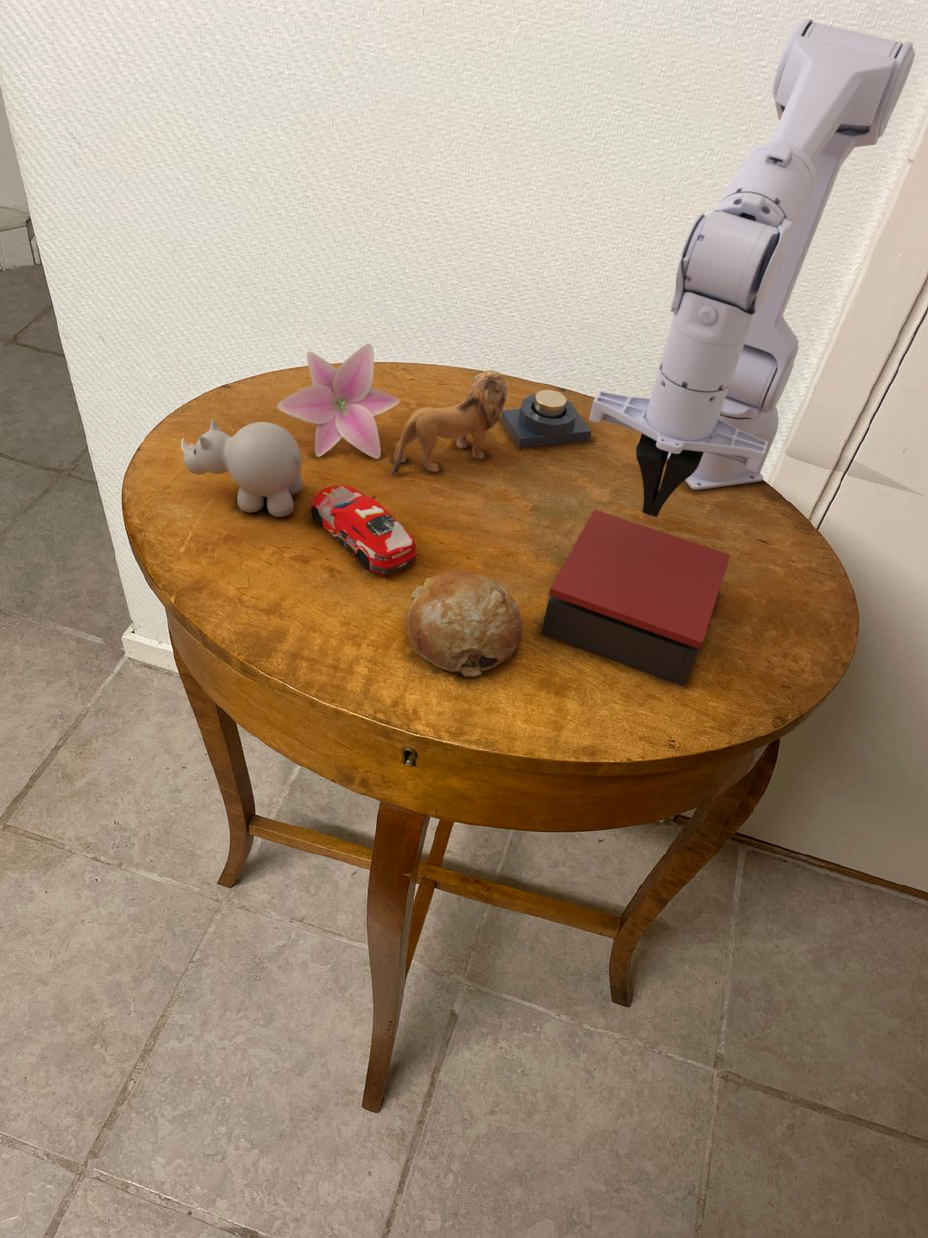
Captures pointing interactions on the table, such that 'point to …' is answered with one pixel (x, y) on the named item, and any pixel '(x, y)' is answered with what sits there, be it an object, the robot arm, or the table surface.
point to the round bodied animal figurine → (251, 464)
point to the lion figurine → (456, 420)
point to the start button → (549, 404)
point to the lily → (341, 402)
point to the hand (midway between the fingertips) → (652, 509)
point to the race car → (364, 528)
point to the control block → (544, 426)
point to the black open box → (618, 641)
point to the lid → (643, 578)
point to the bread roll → (463, 622)
